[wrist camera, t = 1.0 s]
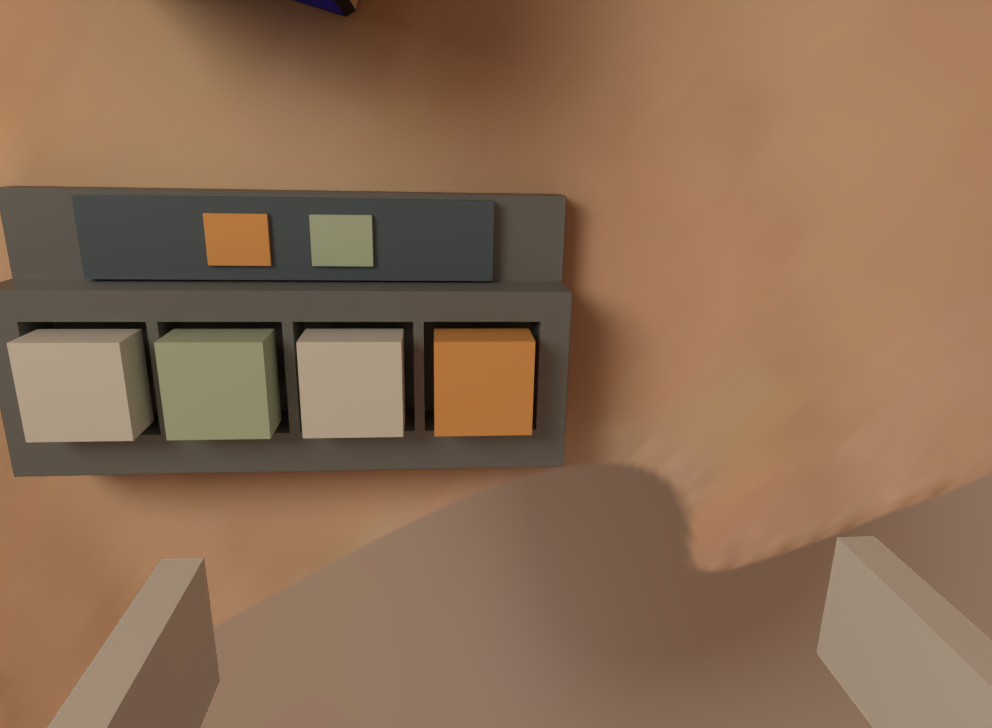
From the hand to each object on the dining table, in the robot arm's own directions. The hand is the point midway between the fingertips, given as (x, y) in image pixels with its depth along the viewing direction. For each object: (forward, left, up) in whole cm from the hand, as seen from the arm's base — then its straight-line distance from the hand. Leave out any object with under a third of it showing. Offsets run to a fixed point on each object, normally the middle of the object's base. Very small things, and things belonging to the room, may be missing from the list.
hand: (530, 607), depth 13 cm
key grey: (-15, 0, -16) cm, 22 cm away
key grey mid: (-5, 0, -16) cm, 16 cm away
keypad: (-8, +1, -19) cm, 20 cm away
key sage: (-10, 0, -16) cm, 18 cm away
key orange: (0, 0, -16) cm, 16 cm away
